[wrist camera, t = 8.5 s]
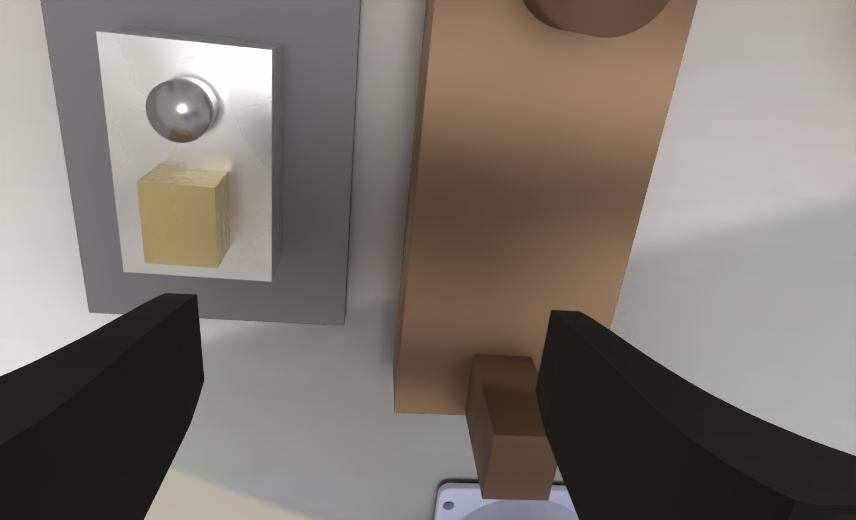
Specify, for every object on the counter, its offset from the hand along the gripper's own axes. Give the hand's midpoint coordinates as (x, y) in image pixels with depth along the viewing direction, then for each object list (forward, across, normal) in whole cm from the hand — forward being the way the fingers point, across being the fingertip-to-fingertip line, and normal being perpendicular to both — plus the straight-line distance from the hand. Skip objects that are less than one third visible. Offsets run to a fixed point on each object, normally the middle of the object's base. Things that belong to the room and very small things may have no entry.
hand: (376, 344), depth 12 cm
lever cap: (+9, +6, -2) cm, 10 cm away
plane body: (+9, -4, -1) cm, 10 cm away
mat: (+9, +6, -1) cm, 11 cm away
